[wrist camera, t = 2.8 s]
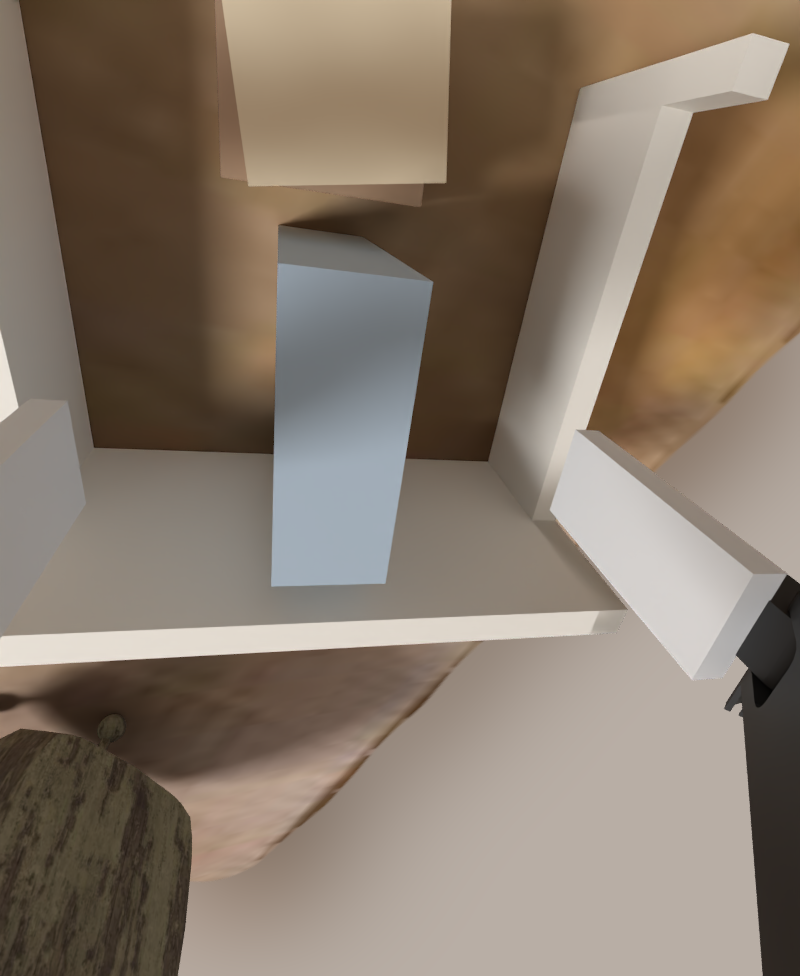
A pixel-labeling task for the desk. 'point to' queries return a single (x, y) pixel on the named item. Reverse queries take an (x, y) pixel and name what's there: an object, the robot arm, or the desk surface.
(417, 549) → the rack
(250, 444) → the desk surface
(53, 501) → the robot arm
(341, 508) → the light blue upright slab
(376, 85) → the offcut top
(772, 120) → the desk surface
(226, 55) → the offcut low
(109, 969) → the tabletop clock
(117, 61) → the desk surface
